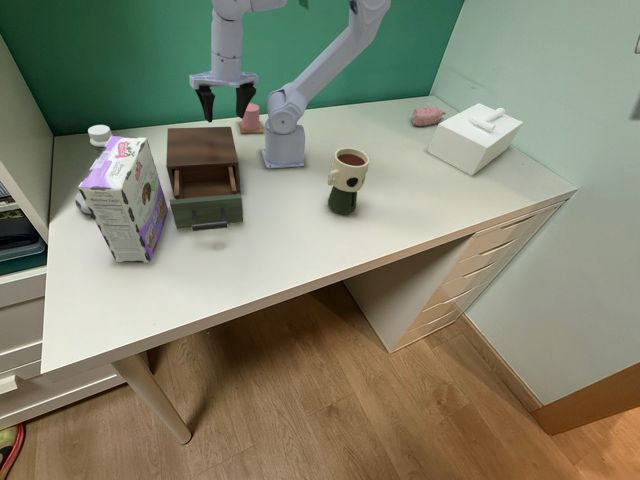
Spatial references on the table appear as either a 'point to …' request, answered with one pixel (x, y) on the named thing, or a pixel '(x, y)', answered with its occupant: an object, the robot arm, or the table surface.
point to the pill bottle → (99, 137)
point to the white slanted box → (474, 137)
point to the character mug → (346, 178)
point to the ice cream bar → (426, 116)
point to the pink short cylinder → (251, 117)
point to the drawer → (206, 198)
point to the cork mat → (244, 131)
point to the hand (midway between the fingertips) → (224, 118)
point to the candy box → (126, 198)
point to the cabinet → (201, 150)
